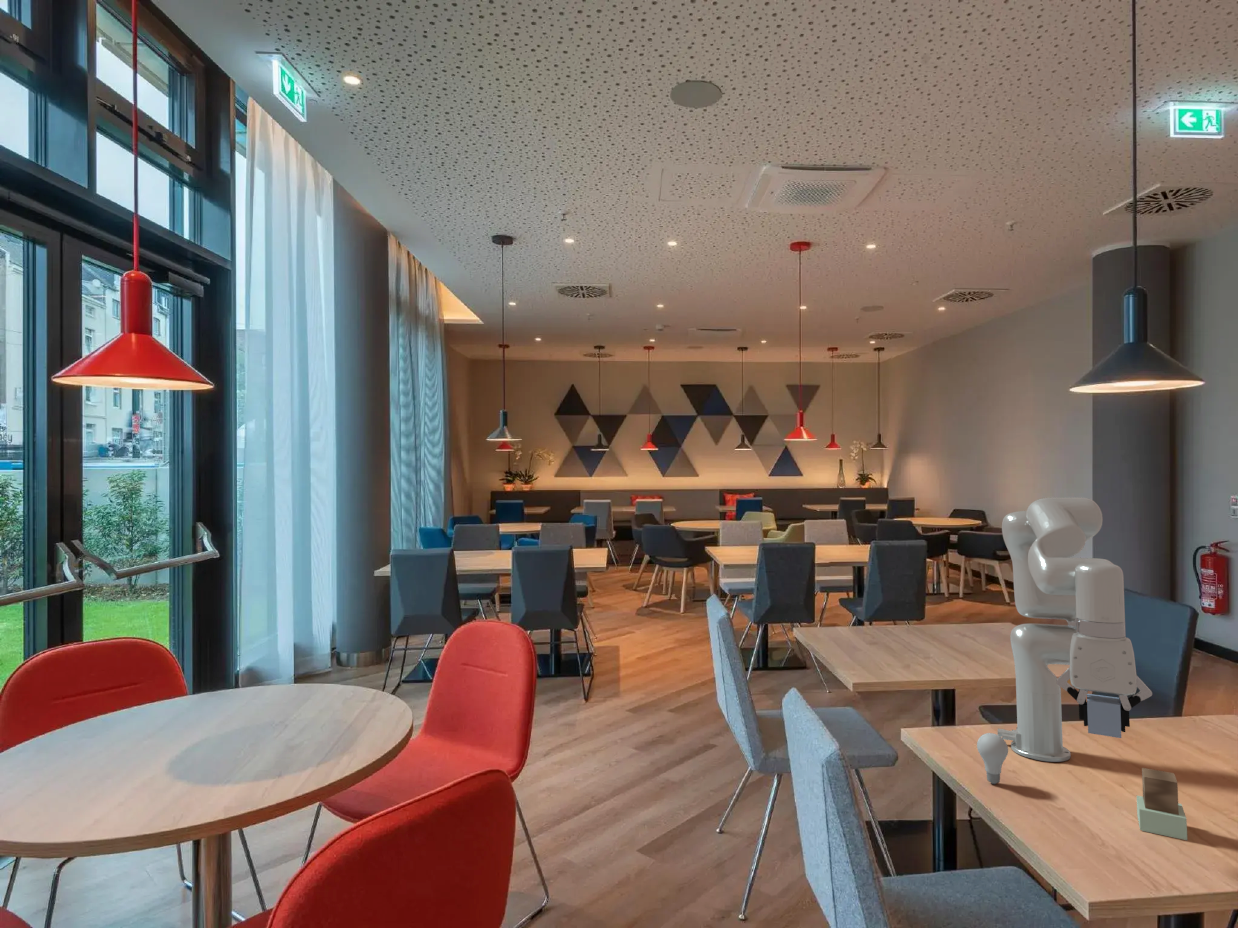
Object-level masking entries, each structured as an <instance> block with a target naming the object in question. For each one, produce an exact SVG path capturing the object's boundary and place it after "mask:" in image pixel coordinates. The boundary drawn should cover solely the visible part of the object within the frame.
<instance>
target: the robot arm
mask: <svg viewBox="0 0 1238 928" xmlns="http://www.w3.org/2000/svg"><path fill="white" fill-rule="evenodd" d="M1102 527H1103V512H1102V510H1101V508H1100V506H1099V505H1098V503H1096V501H1094V500H1093V499H1090V498H1088V497H1044V498H1043V497H1042V498H1040V499H1036V500H1034V501H1032V502H1031V503H1030V504H1029V505H1028V507H1027V509H1026V510H1020V511H1014V512H1013V511H1012V512H1010V513H1008V514H1006V515H1005V516H1004V517H1003V519H1002V523H1001V533H1002V538H1003V542H1004V544H1005V546H1006V548H1007V551H1008V553H1009V556H1010V560H1011V562H1012V579H1013V592H1014V594H1013V595H1014V605H1015V608H1016V611H1017V612H1018V613H1019V615H1021V616H1022V617H1025V618H1030V619H1044V620H1045V619H1047V620H1048V619H1049V620H1065V621H1066V622H1067V624H1051V623H1049V624H1048V623H1021V624H1018V625H1016V626H1014V627H1013V628H1012V629H1011V631H1010V636H1009V639H1010V647H1011V651H1012V656H1013V657H1012V658H1013V662H1014V672H1015V674H1014V675H1015V691H1016V694H1015V696H1016V698H1015V699H1016V717H1017V718H1016V723H1017V726H1016V729H1011V730H1007V729H1005V728H1004V729H1003V728H997V735H999V736H1000V737H1002V738H1003V739H1004V741H1011V742H1010V748H1011V750H1012V751H1013V752H1014V753H1016V754H1017V755H1020V756H1023V757H1025V758H1027V759H1032V760H1036V761H1042V762H1049V763H1060V762H1066V761H1068V760H1070V759H1071V755H1072V753H1071V751H1070V750H1069V749H1068V748H1066V747H1065V746H1064V745H1063V743H1064V741H1063V724H1062V723H1063V720H1062V719H1063V718H1062V716H1063V715H1062V689H1063V690H1064V691H1066V692H1067V693H1068V695H1070V696H1071V697H1072V698H1073V699H1074V700H1075V701H1076V702H1077V703H1078V718H1079V720H1081V721H1083V726H1084V727H1088V713H1087V694H1089V692H1096V693H1101V694H1110V695H1118V698H1119V701H1120V712H1121V733H1126V727H1127V728H1128V727H1129V728H1130V726H1131V725H1130V711H1131V710H1132V708H1134V707H1135V706H1137V705H1139V703H1141V702H1142V701H1145V700H1147V699H1149V698H1150V697H1152V696H1153V692H1152V690H1151V689H1150V688H1149V687H1148V686H1147V685H1146V684H1145V682H1144V681H1143V680H1142V679H1141V678H1140V677H1139V676H1138V675H1137V669H1136V660H1135V659H1136V658H1135V652H1134V647H1133V644H1132V641H1131V639H1130V638H1129V637H1126V613H1125V592H1124V591H1125V585H1124V584H1125V583H1124V572H1123V570H1122V568H1121V566H1119V565H1117V564H1114V563H1113V562H1112V561H1110V560H1109V559H1104V558H1096V557H1094V558H1093V557H1090V558H1089V557H1074V556H1077V554H1079V553H1080V552H1081V551H1082V550H1083V548H1084V547H1085V545H1086V542H1087V541H1089V540H1090V539H1092V538H1093V537H1095V536H1096V535H1097V534H1098V533H1099V532H1100V530H1101V529H1102ZM1048 665H1065V666H1069V667H1068V668H1067V669H1066V670H1064V672H1063V673H1062V674H1061V675H1059V676H1058V677H1057V676H1056V674H1054V672H1053V671H1052V670H1051V669H1050V668H1049V667H1048ZM1069 680H1070V681H1069ZM1068 681H1069V682H1070V683H1068ZM1137 689H1138V690H1139V691H1138V692H1137ZM1128 696H1129V697H1128Z"/></svg>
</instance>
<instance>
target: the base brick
mask: <svg viewBox="0 0 1238 928" xmlns="http://www.w3.org/2000/svg"><path fill="white" fill-rule="evenodd" d="M1183 807H1184V806H1183V804H1182V803H1179V802H1178V809H1179V815H1176V814H1171V813H1166V812H1161V811H1156V810H1151V809H1146V808H1145V805H1144V800H1143V795H1136V813H1137V814H1136V816H1137V821H1139V822H1138V824H1139V825H1138V826H1139V830H1142V831H1141V832H1146V833H1151V834H1155V835H1161V836H1165V837H1169V838H1172V839H1173V838H1174V839H1178V840H1185V841H1188V823H1187V820H1188V819H1187V816H1186V812H1185V811H1184V808H1183Z"/></svg>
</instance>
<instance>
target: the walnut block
mask: <svg viewBox="0 0 1238 928" xmlns="http://www.w3.org/2000/svg"><path fill="white" fill-rule="evenodd" d="M1141 778H1142V780H1141V783H1142V797H1143V800H1144V805H1145V808H1146V809H1151V810H1156V811H1161V812H1166V813H1171V814H1176V815H1179V809H1178V803H1179V792H1178V791H1179V790H1178V787H1179V786H1178V780H1177V777H1176V775H1175V773H1174V772H1170V771H1169V772H1168V771H1162V770H1158V769H1157V770H1156V769H1151V768H1146V767H1141Z"/></svg>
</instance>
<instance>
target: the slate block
mask: <svg viewBox="0 0 1238 928" xmlns="http://www.w3.org/2000/svg"><path fill="white" fill-rule="evenodd" d="M1086 702H1087V713H1088V726H1087V733H1088V734H1091V735H1099V736H1105V737H1111V738H1118V739H1122V731H1121V712H1120V706H1121V705H1120V704H1121V700H1120V698H1119V697H1116V696H1106V695H1102V694H1101V695H1100V694H1091V693H1087V696H1086Z"/></svg>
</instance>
